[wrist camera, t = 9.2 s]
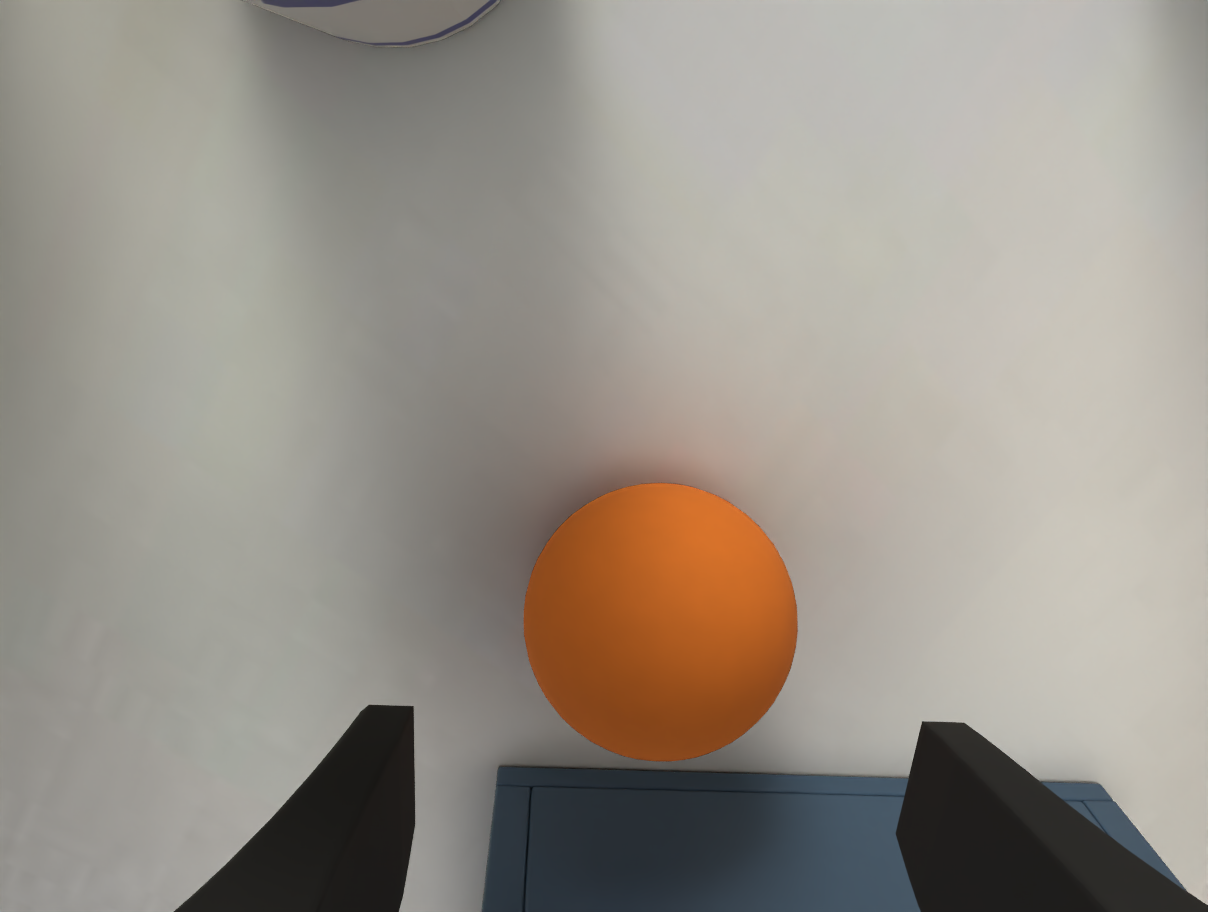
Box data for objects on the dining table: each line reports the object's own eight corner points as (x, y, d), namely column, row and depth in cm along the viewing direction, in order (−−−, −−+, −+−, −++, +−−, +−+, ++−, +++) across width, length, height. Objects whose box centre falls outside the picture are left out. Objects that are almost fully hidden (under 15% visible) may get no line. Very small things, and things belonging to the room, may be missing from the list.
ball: (514, 652, 19) (525, 833, 14) (521, 440, 17) (537, 571, 12) (735, 647, 19) (813, 818, 15) (766, 443, 17) (868, 568, 13)
